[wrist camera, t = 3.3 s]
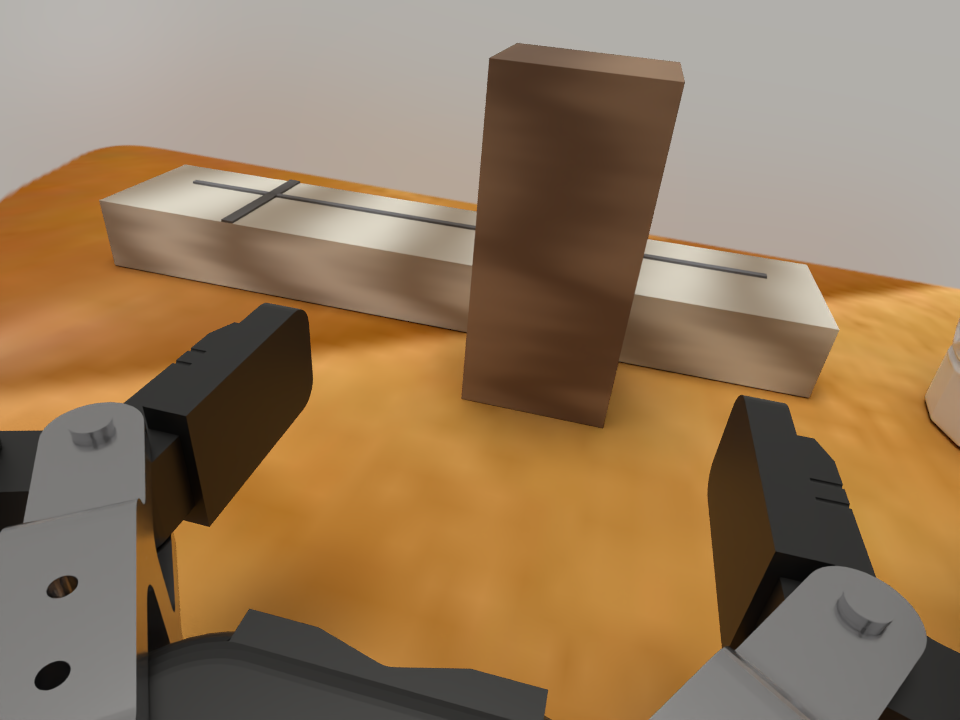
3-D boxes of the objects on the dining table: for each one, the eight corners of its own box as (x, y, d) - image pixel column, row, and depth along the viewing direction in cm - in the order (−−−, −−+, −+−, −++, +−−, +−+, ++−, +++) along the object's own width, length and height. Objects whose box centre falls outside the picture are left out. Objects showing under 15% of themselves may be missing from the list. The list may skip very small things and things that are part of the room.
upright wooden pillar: (616, 310, 29) (676, 45, 23) (602, 428, 22) (684, 82, 16) (510, 291, 30) (541, 29, 24) (461, 398, 23) (489, 57, 17)
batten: (783, 324, 29) (807, 262, 28) (808, 397, 24) (840, 327, 23) (194, 221, 34) (185, 162, 32) (115, 264, 29) (98, 198, 27)
